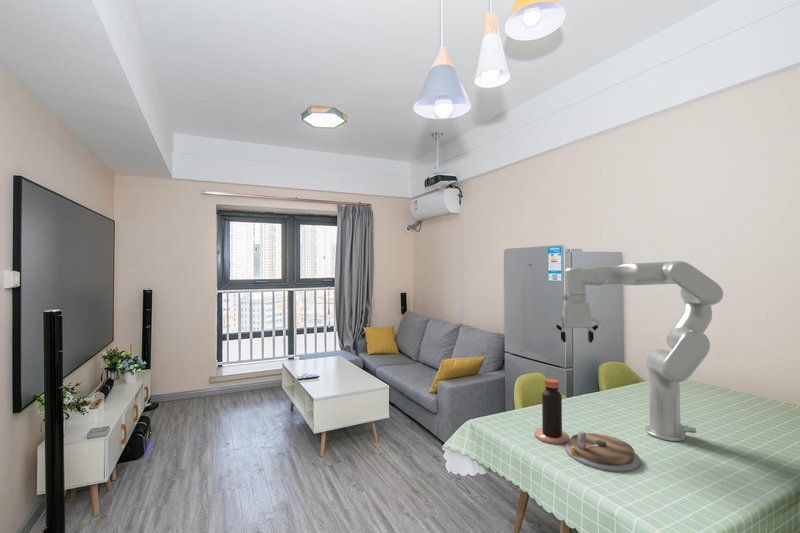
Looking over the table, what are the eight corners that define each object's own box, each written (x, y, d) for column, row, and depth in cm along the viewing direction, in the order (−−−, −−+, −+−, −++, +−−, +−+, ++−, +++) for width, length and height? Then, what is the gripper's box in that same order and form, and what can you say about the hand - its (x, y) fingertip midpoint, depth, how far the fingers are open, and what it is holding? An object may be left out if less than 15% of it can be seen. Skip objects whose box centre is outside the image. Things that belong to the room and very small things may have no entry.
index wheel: (584, 434, 141) (584, 415, 141) (643, 452, 126) (642, 431, 127) (559, 449, 128) (559, 428, 129) (621, 471, 114) (621, 448, 114)
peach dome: (565, 432, 146) (565, 429, 146) (572, 445, 134) (572, 443, 134) (532, 429, 149) (532, 426, 149) (536, 442, 137) (536, 439, 137)
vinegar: (563, 439, 137) (563, 383, 138) (544, 437, 139) (543, 382, 139) (559, 431, 144) (559, 378, 144) (541, 430, 145) (540, 377, 146)
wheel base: (626, 443, 136) (626, 434, 136) (651, 475, 114) (651, 464, 114) (560, 437, 141) (560, 428, 141) (572, 467, 119) (572, 456, 119)
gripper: (554, 299, 149) (555, 343, 149) (602, 299, 145) (603, 344, 145) (550, 298, 156) (552, 340, 156) (596, 297, 153) (598, 340, 152)
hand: (577, 341), depth 150 cm, fingers open, 9 cm apart
